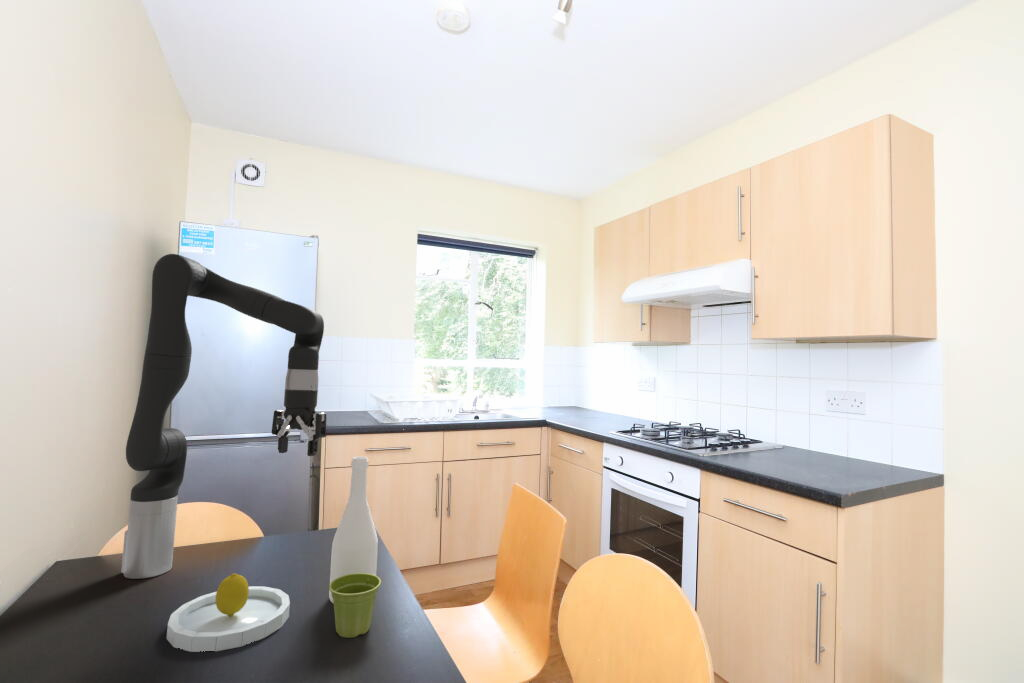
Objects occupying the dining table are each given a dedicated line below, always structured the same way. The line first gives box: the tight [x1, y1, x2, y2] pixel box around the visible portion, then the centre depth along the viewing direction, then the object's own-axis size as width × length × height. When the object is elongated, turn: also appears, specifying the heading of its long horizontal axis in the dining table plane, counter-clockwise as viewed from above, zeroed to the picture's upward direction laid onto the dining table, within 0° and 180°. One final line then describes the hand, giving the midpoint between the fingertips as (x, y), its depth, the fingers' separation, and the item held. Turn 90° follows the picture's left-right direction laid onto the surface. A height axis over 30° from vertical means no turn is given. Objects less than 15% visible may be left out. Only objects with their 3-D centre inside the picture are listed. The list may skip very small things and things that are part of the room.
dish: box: [166, 585, 291, 653], centre depth 93 cm, size 20×20×2 cm
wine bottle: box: [328, 456, 379, 605], centre depth 106 cm, size 10×10×30 cm
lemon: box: [216, 572, 249, 617], centre depth 94 cm, size 6×6×8 cm
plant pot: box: [328, 573, 382, 639], centre depth 93 cm, size 9×9×9 cm
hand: (297, 454), depth 119 cm, fingers open, 8 cm apart
